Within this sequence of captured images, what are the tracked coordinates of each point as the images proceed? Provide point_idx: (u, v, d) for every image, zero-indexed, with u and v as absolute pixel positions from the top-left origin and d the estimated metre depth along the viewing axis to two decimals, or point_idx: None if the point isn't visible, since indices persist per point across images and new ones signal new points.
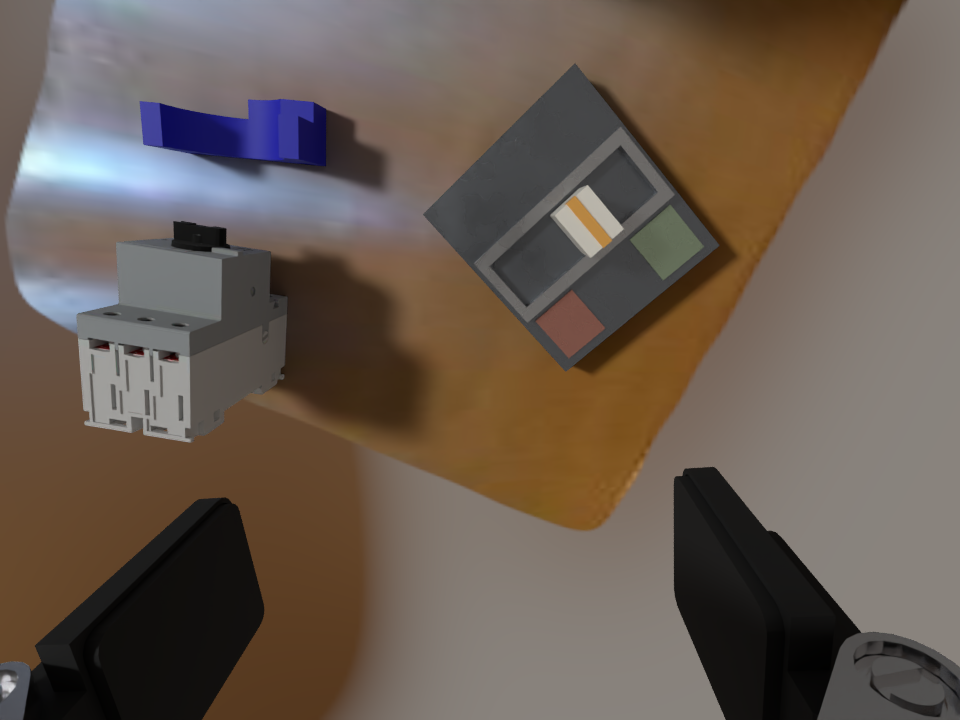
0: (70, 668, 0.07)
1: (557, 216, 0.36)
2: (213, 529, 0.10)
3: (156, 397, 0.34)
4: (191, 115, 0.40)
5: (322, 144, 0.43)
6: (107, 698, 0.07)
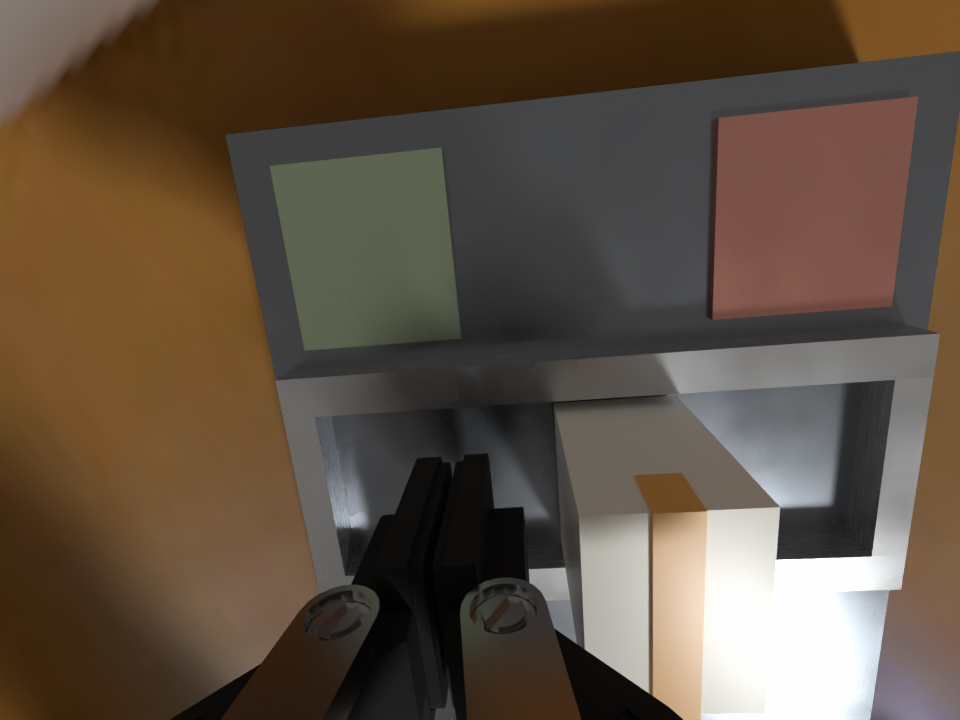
0: (400, 590, 0.08)
1: (758, 704, 0.09)
2: (445, 482, 0.11)
3: None
4: None
5: None
6: (423, 620, 0.08)
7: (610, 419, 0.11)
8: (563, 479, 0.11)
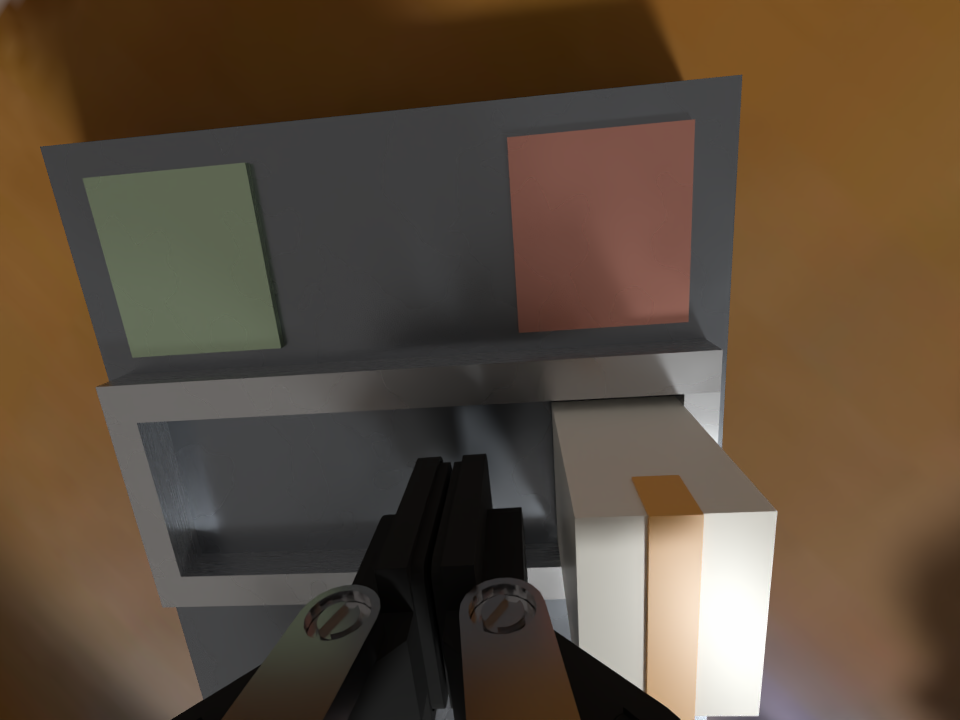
0: (401, 590, 0.08)
1: (752, 707, 0.09)
2: (446, 482, 0.11)
3: None
4: None
5: None
6: (424, 620, 0.08)
7: (608, 419, 0.11)
8: (560, 479, 0.11)
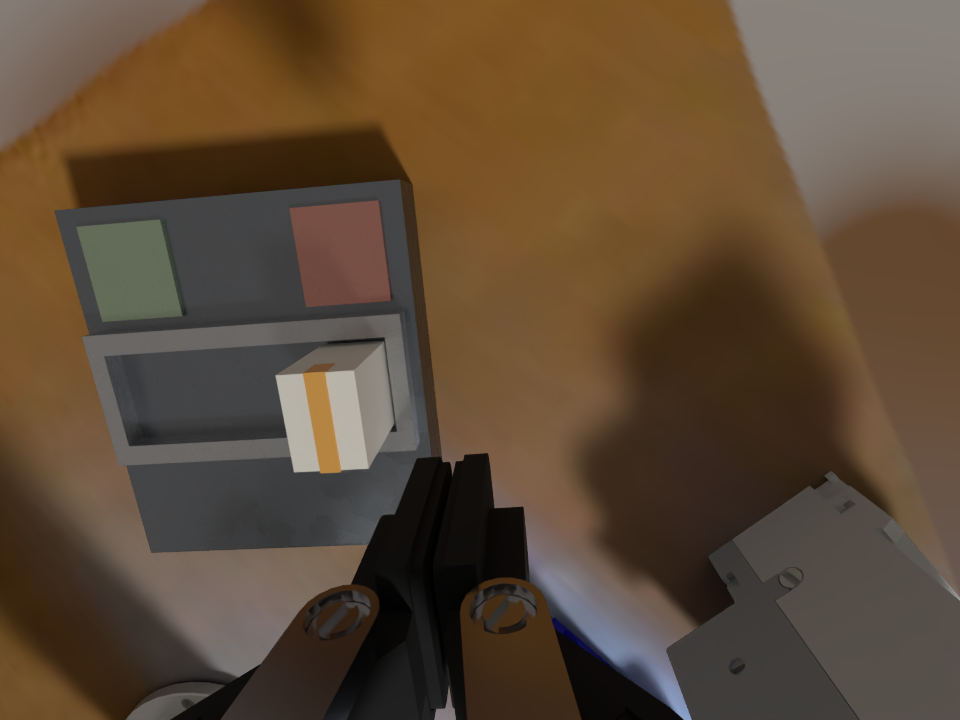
0: (400, 590, 0.08)
1: (365, 464, 0.20)
2: (445, 482, 0.11)
3: None
4: None
5: None
6: (423, 620, 0.08)
7: (338, 349, 0.22)
8: None
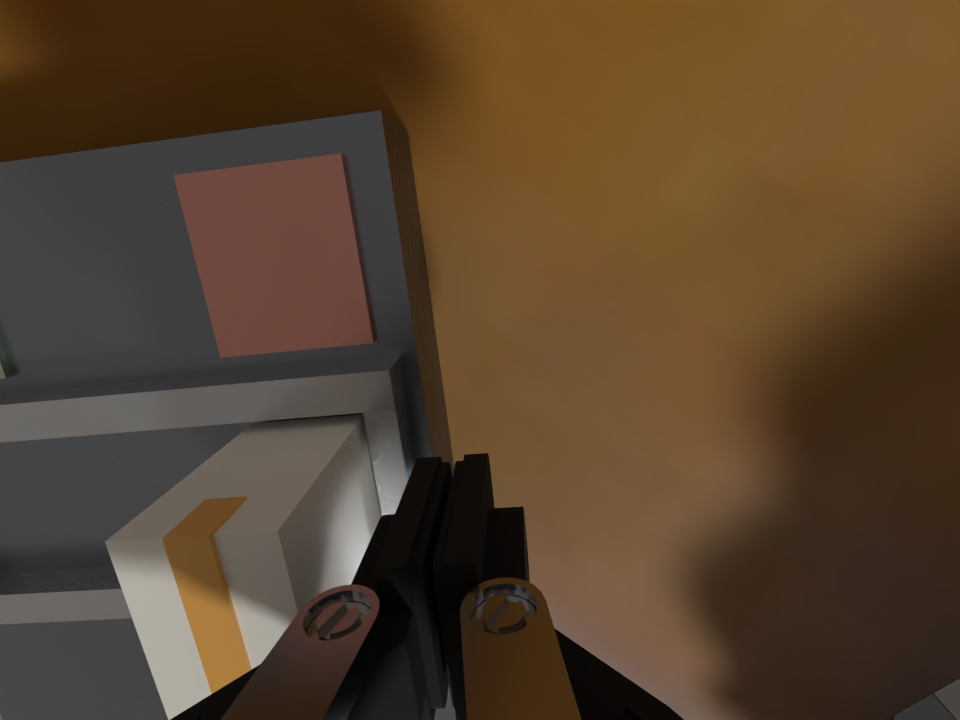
0: (400, 590, 0.08)
1: None
2: (445, 482, 0.11)
3: None
4: None
5: None
6: (423, 620, 0.08)
7: (274, 439, 0.12)
8: None
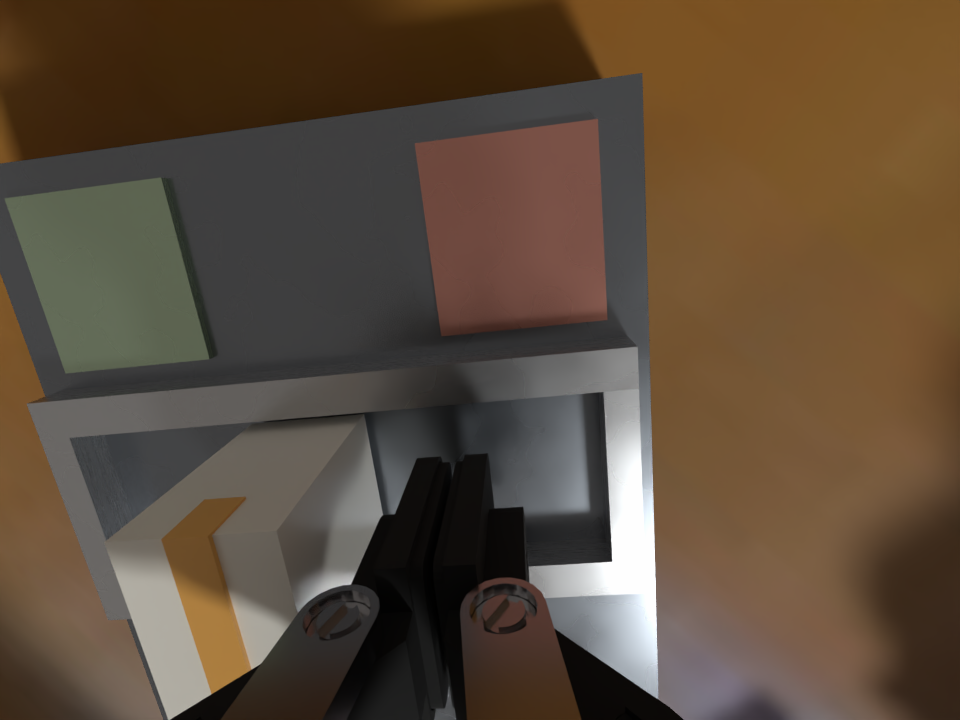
0: (400, 590, 0.08)
1: None
2: (445, 482, 0.11)
3: None
4: None
5: None
6: (423, 620, 0.08)
7: (274, 440, 0.12)
8: None
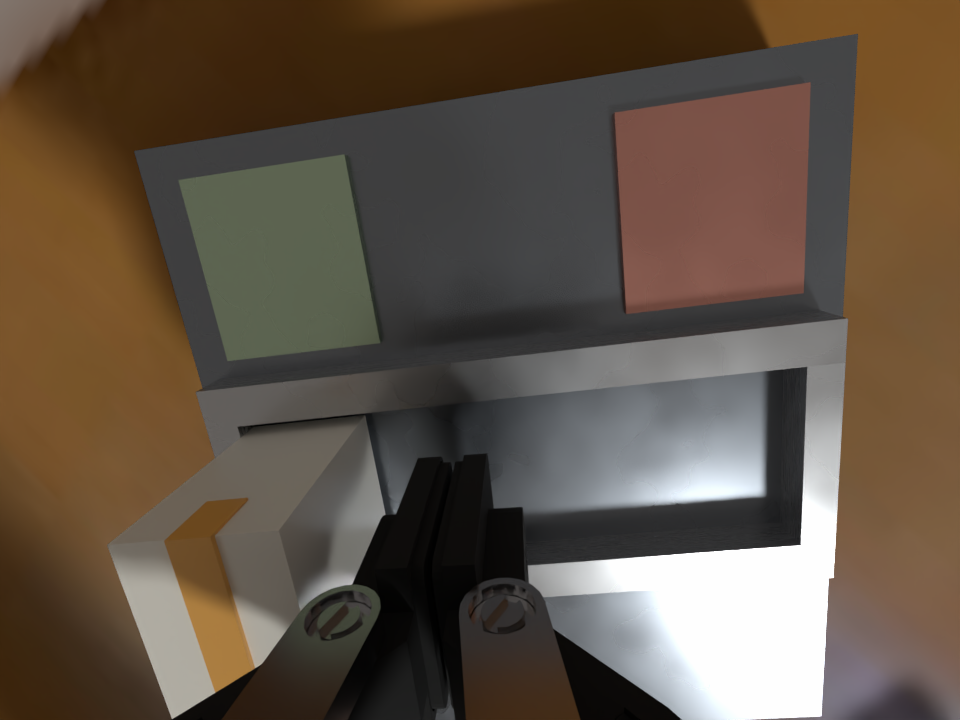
0: (402, 590, 0.08)
1: None
2: (446, 482, 0.11)
3: None
4: None
5: None
6: (424, 620, 0.08)
7: (276, 442, 0.12)
8: None
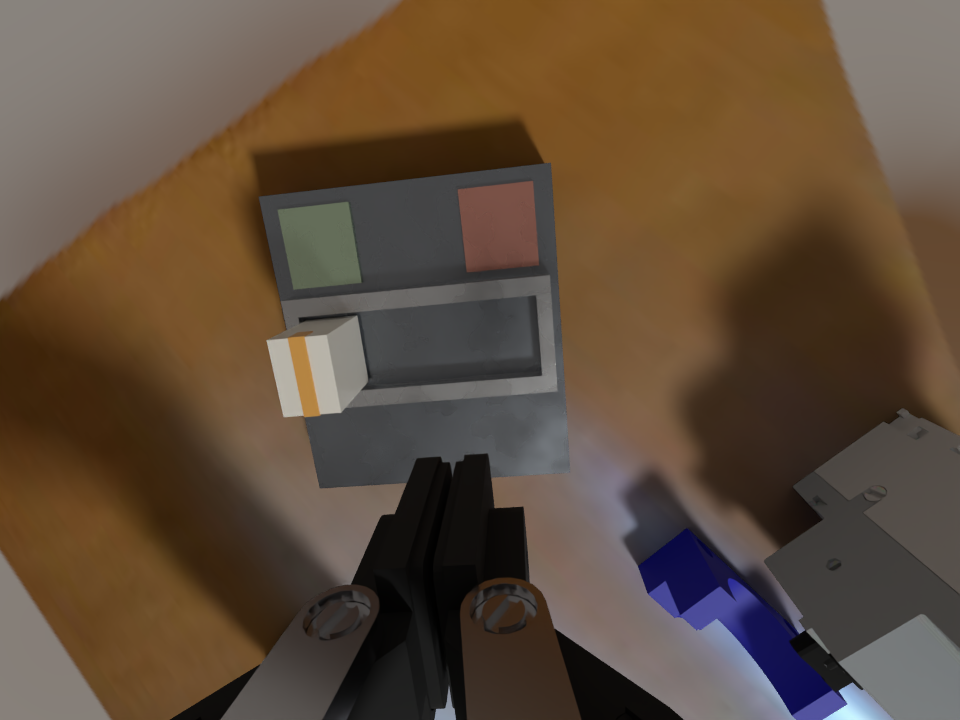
0: (400, 590, 0.08)
1: (338, 409, 0.25)
2: (445, 482, 0.11)
3: None
4: (767, 669, 0.34)
5: (671, 548, 0.35)
6: (423, 620, 0.08)
7: (318, 322, 0.28)
8: None
